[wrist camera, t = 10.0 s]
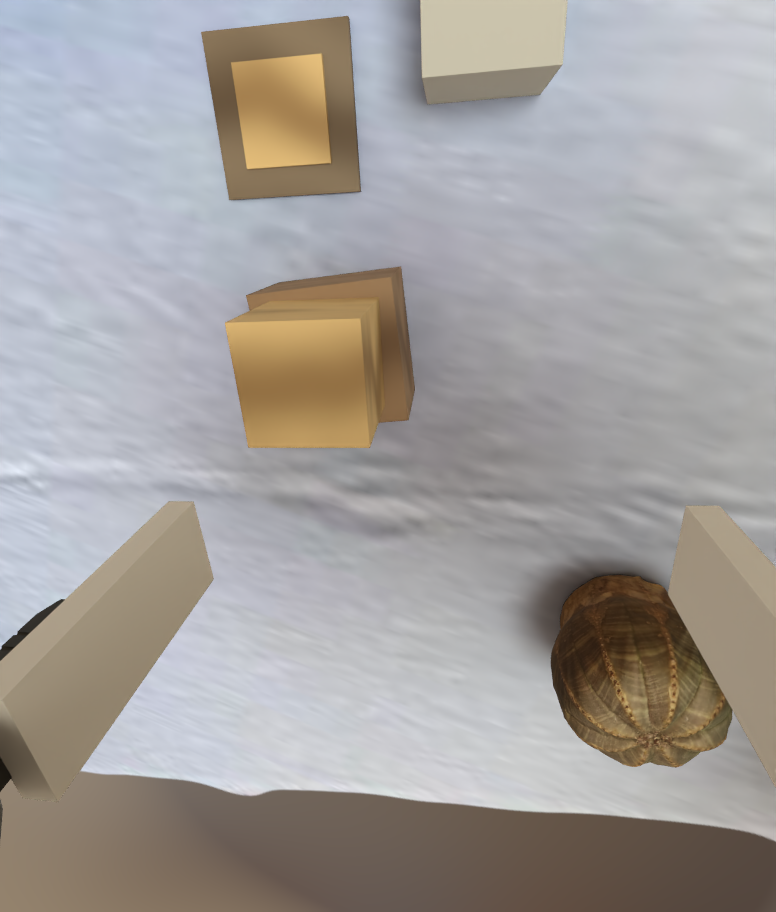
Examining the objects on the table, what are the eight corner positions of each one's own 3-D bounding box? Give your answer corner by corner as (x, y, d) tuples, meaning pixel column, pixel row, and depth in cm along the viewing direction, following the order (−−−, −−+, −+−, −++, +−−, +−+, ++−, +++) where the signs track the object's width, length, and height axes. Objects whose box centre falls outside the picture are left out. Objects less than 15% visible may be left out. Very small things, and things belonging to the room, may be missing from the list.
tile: (360, 191, 29) (358, 191, 29) (232, 200, 30) (227, 199, 30) (349, 18, 26) (346, 14, 25) (204, 34, 27) (198, 30, 26)
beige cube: (540, 94, 27) (562, 64, 21) (427, 105, 27) (421, 78, 22) (549, -56, 24) (577, -134, 19) (425, -40, 25) (417, -111, 19)
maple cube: (384, 404, 29) (370, 447, 24) (285, 405, 30) (248, 447, 24) (378, 297, 26) (360, 318, 21) (269, 301, 27) (224, 322, 22)
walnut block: (414, 388, 35) (408, 420, 29) (304, 398, 36) (278, 430, 30) (401, 266, 31) (391, 277, 26) (279, 282, 32) (246, 295, 27)
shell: (632, 528, 37) (705, 655, 26) (705, 619, 40) (799, 767, 29) (511, 595, 41) (532, 729, 30) (586, 674, 44) (629, 822, 33)
